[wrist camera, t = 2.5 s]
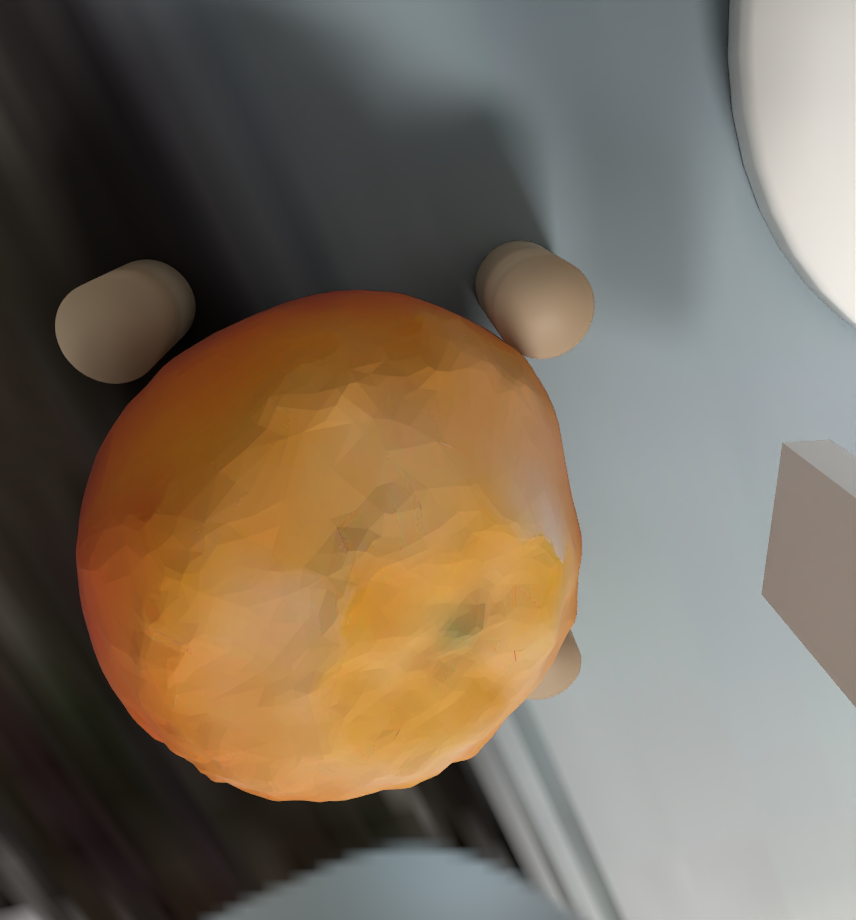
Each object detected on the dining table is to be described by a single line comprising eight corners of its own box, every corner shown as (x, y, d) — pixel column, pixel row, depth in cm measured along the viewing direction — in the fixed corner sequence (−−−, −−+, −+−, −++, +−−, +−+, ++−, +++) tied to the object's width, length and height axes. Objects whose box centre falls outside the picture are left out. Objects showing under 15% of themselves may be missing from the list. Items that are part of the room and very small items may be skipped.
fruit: (-15, 250, 13) (129, 380, 7) (399, 246, 17) (711, 321, 11) (42, 669, 16) (177, 1021, 10) (382, 573, 20) (621, 773, 14)
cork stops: (174, 651, 17) (143, 730, 15) (98, 261, 14) (44, 283, 12) (552, 624, 18) (580, 696, 15) (560, 238, 14) (596, 255, 12)
